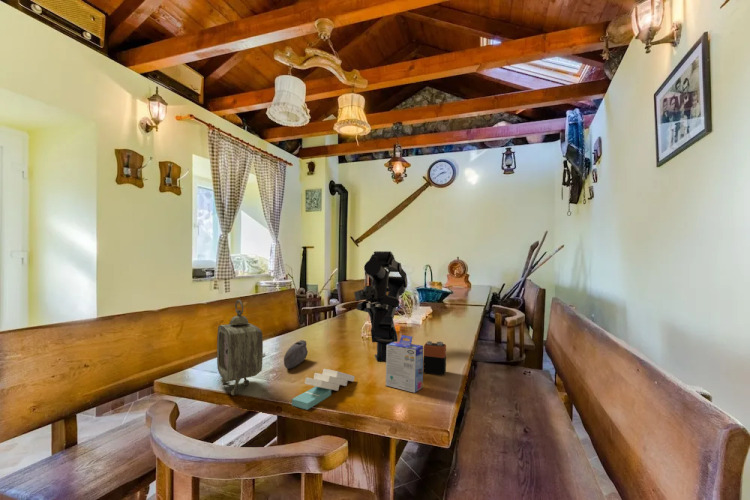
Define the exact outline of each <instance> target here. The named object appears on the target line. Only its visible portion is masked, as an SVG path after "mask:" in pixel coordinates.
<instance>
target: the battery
mask: <svg viewBox="0 0 750 500" xmlns="http://www.w3.org/2000/svg"><path fill="white" fill-rule="evenodd" d="M446 373H447V345H446V343H444V341H436V342H432V341H431V340H429V341H426V342H425V344H424V345H423V374H429V375H437V376H445V374H446Z"/></svg>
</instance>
